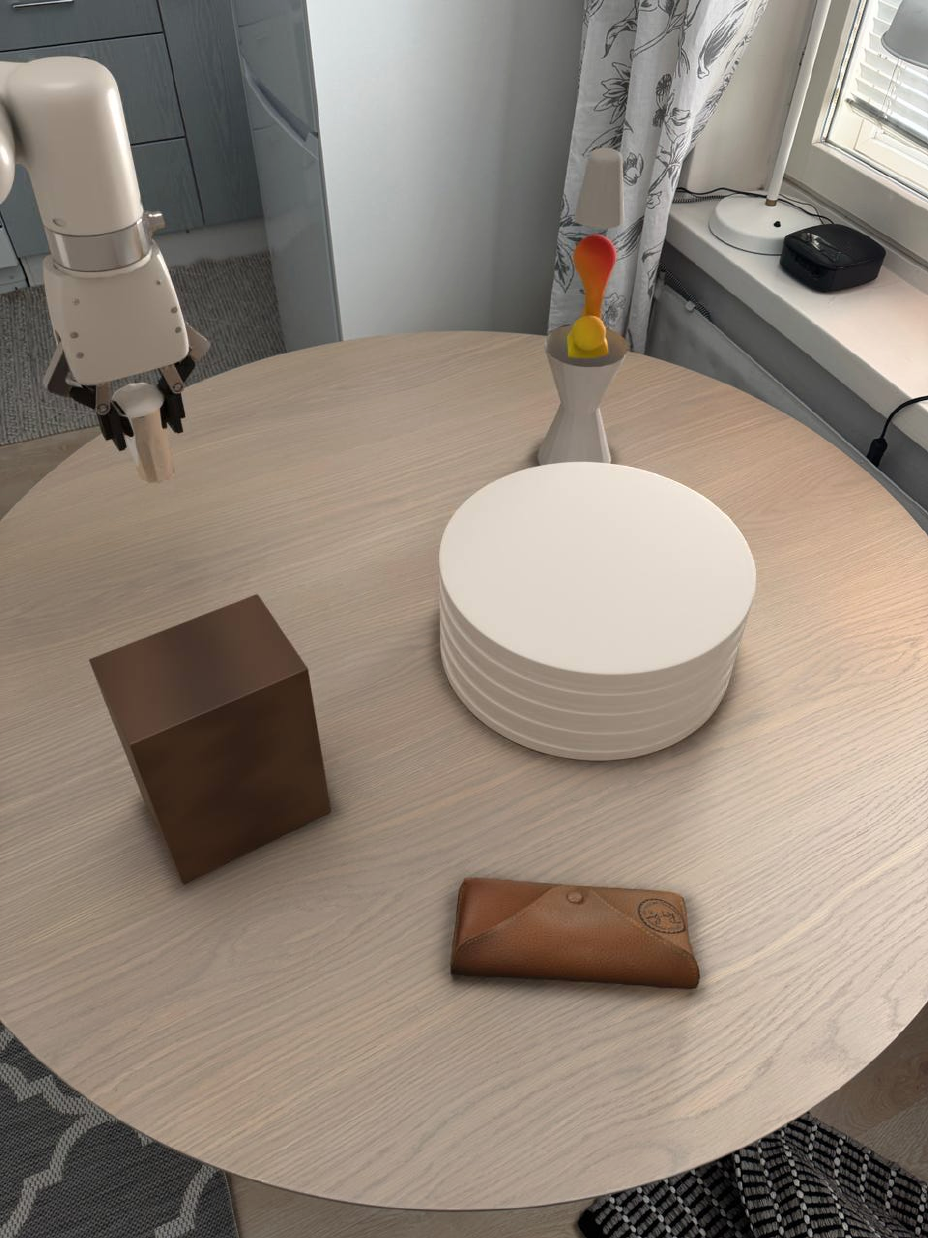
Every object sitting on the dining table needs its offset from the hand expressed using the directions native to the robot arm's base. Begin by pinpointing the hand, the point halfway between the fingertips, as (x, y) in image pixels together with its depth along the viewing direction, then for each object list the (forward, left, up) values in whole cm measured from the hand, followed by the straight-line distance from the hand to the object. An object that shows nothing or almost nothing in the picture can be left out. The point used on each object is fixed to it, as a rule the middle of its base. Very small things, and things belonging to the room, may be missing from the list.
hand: (145, 432), depth 91 cm
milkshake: (0, 0, -5) cm, 5 cm away
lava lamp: (+47, -4, -18) cm, 50 cm away
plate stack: (+30, -29, -18) cm, 46 cm away
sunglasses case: (+11, -53, -18) cm, 57 cm away
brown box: (-6, -29, -18) cm, 35 cm away
